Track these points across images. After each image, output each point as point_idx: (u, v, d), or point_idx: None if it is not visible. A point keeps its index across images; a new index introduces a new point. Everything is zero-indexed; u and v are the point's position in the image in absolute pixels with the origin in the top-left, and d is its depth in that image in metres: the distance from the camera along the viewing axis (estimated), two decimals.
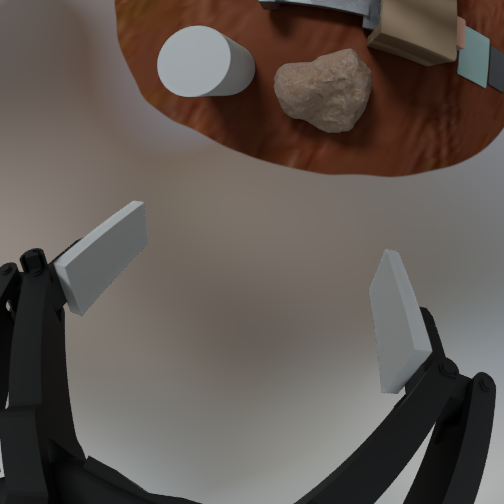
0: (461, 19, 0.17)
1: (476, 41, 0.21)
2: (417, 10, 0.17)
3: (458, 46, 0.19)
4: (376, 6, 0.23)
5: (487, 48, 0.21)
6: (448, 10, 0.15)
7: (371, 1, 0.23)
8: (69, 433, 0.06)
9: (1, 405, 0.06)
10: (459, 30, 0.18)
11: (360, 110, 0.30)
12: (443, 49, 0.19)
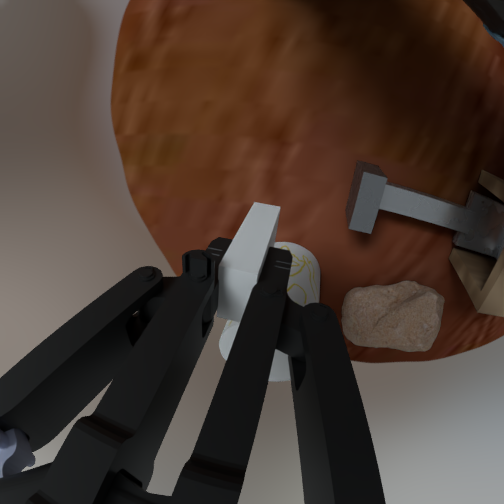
0: None
1: None
2: None
3: None
4: (479, 215, 0.22)
5: None
6: None
7: (476, 208, 0.22)
8: (149, 458, 0.06)
9: (72, 414, 0.07)
10: None
11: None
12: None
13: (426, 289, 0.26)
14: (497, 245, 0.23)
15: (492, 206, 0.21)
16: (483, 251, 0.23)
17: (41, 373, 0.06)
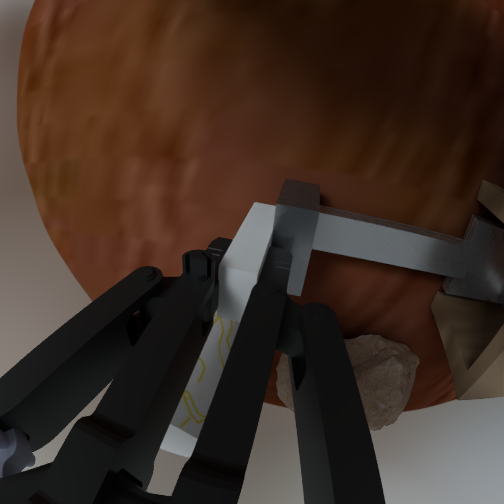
0: None
1: None
2: None
3: None
4: (483, 251, 0.15)
5: None
6: None
7: (479, 241, 0.14)
8: (149, 458, 0.06)
9: (72, 414, 0.07)
10: None
11: None
12: None
13: (391, 351, 0.19)
14: None
15: (503, 237, 0.14)
16: (485, 298, 0.16)
17: (41, 373, 0.06)
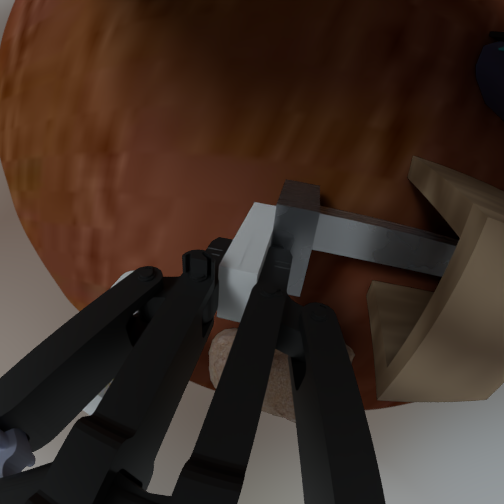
0: None
1: None
2: (476, 353, 0.10)
3: None
4: None
5: None
6: None
7: None
8: (149, 458, 0.06)
9: (72, 414, 0.07)
10: None
11: None
12: (478, 394, 0.11)
13: None
14: None
15: None
16: None
17: (41, 373, 0.06)
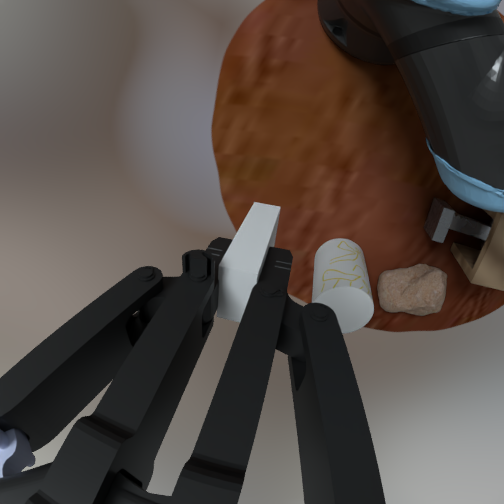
0: None
1: None
2: (501, 261, 0.28)
3: None
4: None
5: None
6: None
7: None
8: (149, 458, 0.06)
9: (72, 413, 0.07)
10: None
11: None
12: (503, 286, 0.29)
13: (434, 268, 0.38)
14: None
15: None
16: None
17: (41, 373, 0.06)
